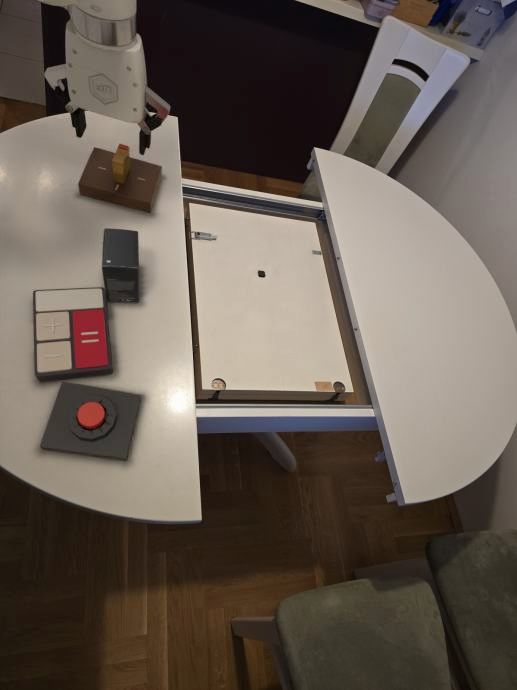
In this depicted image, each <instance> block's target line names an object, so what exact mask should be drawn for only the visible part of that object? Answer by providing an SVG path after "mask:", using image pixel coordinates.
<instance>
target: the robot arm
mask: <svg viewBox="0 0 517 690" xmlns="http://www.w3.org/2000/svg"><path fill="white" fill-rule="evenodd" d="M37 1H38V2H41V3H43V4H46V5H49V6H53V7H59V8H61V9H62V8H63V9H65V10H66V11H68V14H69V16H70V18H69V20H68V21H67V22H66V23H65V41H64V42H65V63H64V64H58V65H54V66H50V67H47V68H46V70H45V71H44V73H43V75H44V78H45V79H46V81H47V82H48V84H49V85H50V88H51V89H53V93H54V95H55V96H56V97H57V99H59V100H60V101H61V102H62V103H63V105H65V109H66V111H67V112H69V114H70V115H69V116H70V121H71V126H72V128H74V129H75V136H76V138H79V139H81V138H83V136H84V134H85V131H86V130H87V119H86V118H87V117H86V111H87V112H88V111H89V112H91V113H95V114H98V115H101V116H105V117H107V118H111V119H115V120H118V121H122V122H125V123H128V124H129V123H130V124H137V125H138V127H139V128H140V130H139V133H138V154H140V155H141V156H145V153H146V150H147V149H150V148H151V144H152V132H153V131H154V130H157V128H160V127H161V126H162V125H163V123H164V122H165V120H166V119H167V118H168V116H169V115H170V114H171V113H170V112H171V110H172V109H171V108H172V107H171V105H170V104H169V103H168V102H167V101H165V99H163V98H161V97H160V96H159V95H158V94H157V93H156V92H155V91H153V90H152V89H151V88H149V87H148V77H147V67H146V59H145V52H144V46H143V41H142V37H141V35H140V34H139V33H137V31H138V30H137V29H138V28H137V24H138V23H137V0H37ZM62 80H66V81H67V82H66V83H67V85H66V84H64V83H63V82H62ZM147 103H148V105H150V106H151V107H152V108H154V109H155V110H156V111H157V112H156V113H154V114H151V113H150V111H149V110H148V109H147Z"/></svg>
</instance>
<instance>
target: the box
mask: <svg viewBox="0 0 517 690" xmlns="http://www.w3.org/2000/svg"><path fill="white" fill-rule="evenodd" d="M102 232H103V233H102V248H101V270H102V277H103V284H104V289H105V293H106V301H107V303H108V302H110V303H130V304H131V303H133V304H136V303H137V304H138V303H139V302H140V252H139V251H140V249H139V247H140V246H139V244H140V243H139V231H137V230H132V229H124V228H107V227H106V228H103V231H102Z"/></svg>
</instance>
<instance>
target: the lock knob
mask: <svg viewBox="0 0 517 690" xmlns="http://www.w3.org/2000/svg"><path fill="white" fill-rule="evenodd" d="M114 153H115V155H114V157H113V159H112V166H113V178H114V181H115V182H119V183H122V184H124V182H125V179H126V177H127V174H128V171H129V169H130V157H131V156H130V155H131V154H130V153H131V151H130V146H129V145H127V144H124V143H118V145H117V147H116V150H115V152H114Z"/></svg>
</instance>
